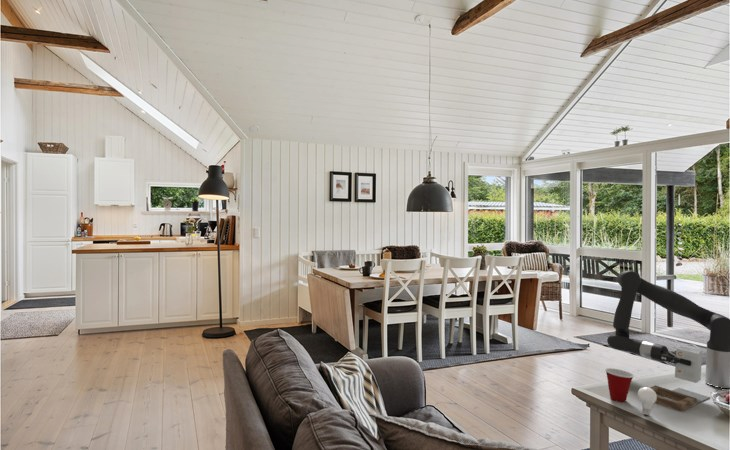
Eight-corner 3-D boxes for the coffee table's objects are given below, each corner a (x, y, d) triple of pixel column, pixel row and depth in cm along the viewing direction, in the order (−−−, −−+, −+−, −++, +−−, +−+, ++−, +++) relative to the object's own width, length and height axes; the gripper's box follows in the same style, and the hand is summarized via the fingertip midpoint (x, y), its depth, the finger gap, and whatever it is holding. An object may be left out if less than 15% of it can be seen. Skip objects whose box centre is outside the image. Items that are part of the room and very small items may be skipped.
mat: (678, 388, 202) (678, 387, 202) (709, 398, 192) (710, 397, 192) (666, 393, 196) (666, 392, 196) (697, 403, 186) (697, 402, 186)
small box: (700, 380, 193) (702, 350, 193) (696, 383, 189) (698, 353, 189) (678, 374, 199) (680, 346, 199) (674, 377, 195) (676, 348, 195)
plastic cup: (639, 403, 185) (640, 374, 184) (619, 405, 181) (620, 377, 181) (617, 393, 195) (618, 366, 195) (598, 395, 192) (599, 368, 191)
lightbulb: (638, 410, 178) (639, 383, 177) (657, 415, 174) (658, 387, 173) (635, 415, 173) (636, 387, 172) (655, 420, 169) (656, 392, 168)
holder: (655, 390, 199) (655, 385, 199) (696, 404, 185) (696, 398, 185) (639, 396, 191) (639, 391, 191) (681, 411, 178) (681, 405, 178)
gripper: (646, 345, 202) (687, 356, 188) (661, 341, 210) (702, 351, 196) (645, 361, 202) (686, 373, 188) (660, 357, 210) (701, 368, 196)
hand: (694, 362), depth 192 cm, fingers closed on small box, 6 cm apart
